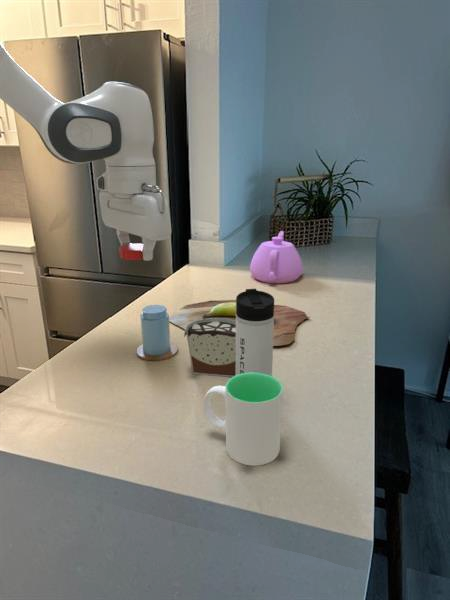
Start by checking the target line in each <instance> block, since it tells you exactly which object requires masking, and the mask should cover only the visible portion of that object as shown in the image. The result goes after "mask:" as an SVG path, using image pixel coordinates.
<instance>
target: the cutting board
mask: <svg viewBox="0 0 450 600" xmlns="http://www.w3.org/2000/svg"><path fill="white" fill-rule="evenodd" d="M236 310H237V309H236V299H223V300H222V299H221V300H206V301H201V302H196V303H191V304H186V305H184V306H183V307H181V308H179V309H178V310H177V311H175V312H174V313H173V314H172V315H171V316H169V323H172V324H174V325H175V326H177V327H179V328H181V329H184V331H185V330H186V327H187V326H188V325H189V324H190V323H192V322H194V321H197V320H201V319H206V318H225V319H231V320H234V321H236ZM307 319H311V317H310V316H308V315H307V314H306V312H305V311H303V310H300V309H296V308H294V307H291V306H288V305H280V304H274V333H273V347H281V346H287V345H290V344H291V343H292V342H293V341H295V335H296V334H295V333H296V329H297V327H298V325H299V324H301V323H302V322H304V321H305V320H307Z"/></svg>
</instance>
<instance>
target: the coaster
mask: <svg viewBox="0 0 450 600" xmlns="http://www.w3.org/2000/svg"><path fill="white" fill-rule="evenodd" d="M170 347H171V349H170V351H169V352H167V353H165V354H162V355H148V354H146V353H144V352H143V344H140V345H139V346H138V347H137V349H136V355H137V357H138V358H140V359H142V360H144V361H149V362H160V361H165V360H168V359H171V358H173V357H174V356H176V355H177V354H178V352H179V347H178V345H177V344H176V343H174V342H172V341H170Z"/></svg>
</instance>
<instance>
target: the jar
mask: <svg viewBox="0 0 450 600" xmlns="http://www.w3.org/2000/svg"><path fill="white" fill-rule="evenodd" d="M141 311H142V312H141V315H140V329H141V330H140V331H141V343H142V344H143V352H144V353H146V354H148V355H162V354H165V353H167V352H169V351H170V349H171V347H170V342H171V330H170V329H171V328H170V321H169V318H170V314H169V313H168V312H167V307H166V306H164V305H162V304H150V305H146V306H144V307H143V308H142V310H141ZM142 344H141V345H142Z"/></svg>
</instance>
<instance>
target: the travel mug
mask: <svg viewBox="0 0 450 600" xmlns="http://www.w3.org/2000/svg"><path fill="white" fill-rule="evenodd" d="M235 300H236V309H237V310H236V375H238V374H242V373H250V372H255V373H263V374H267V375H270V376H272V377H273V361H274V360H273V357H274V346H273V333H274V305H275V298H274V296H273V295H272V294H270V293H268V292H266V291H264V290H258V289H257V288H246V289H245V291H242V292H239V293H238V294H237V296H236V298H235Z"/></svg>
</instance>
